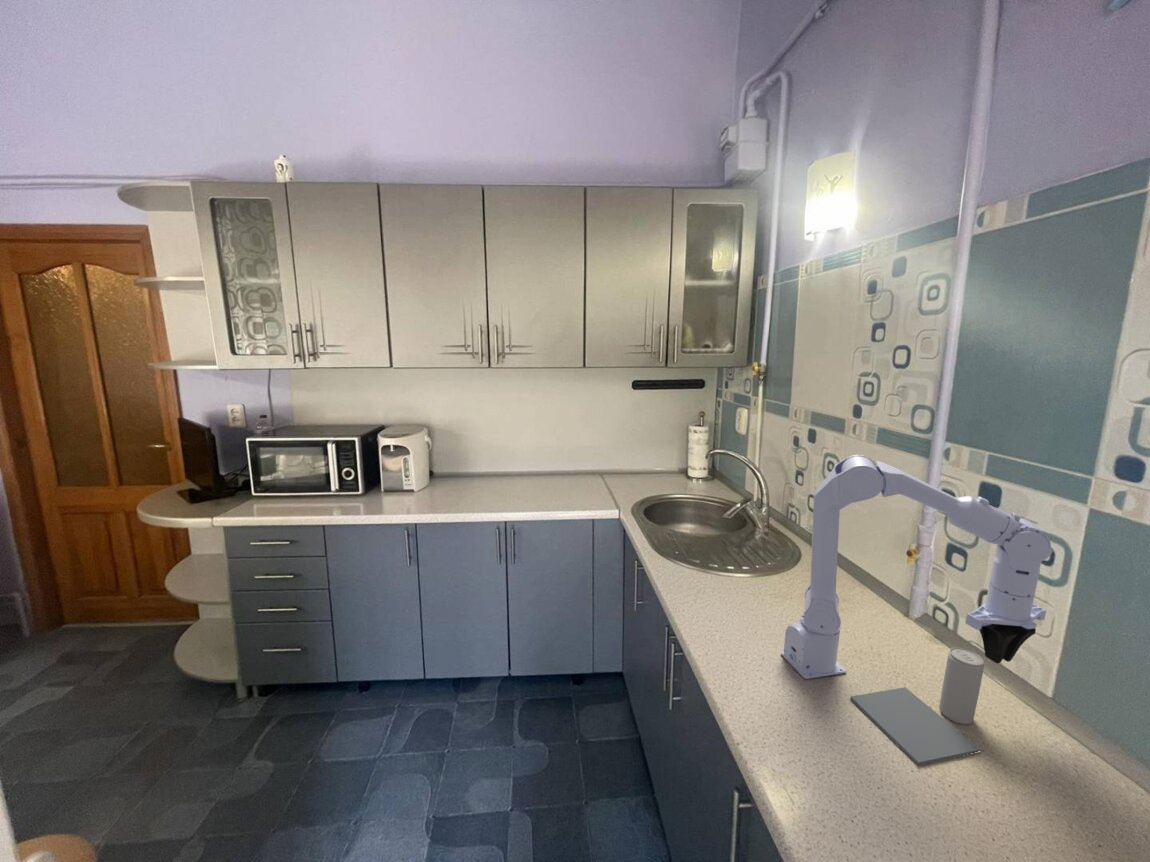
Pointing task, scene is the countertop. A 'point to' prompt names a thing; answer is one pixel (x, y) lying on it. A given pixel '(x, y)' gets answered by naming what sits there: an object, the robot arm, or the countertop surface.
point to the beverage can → (961, 685)
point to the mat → (914, 726)
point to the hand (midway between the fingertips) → (997, 658)
